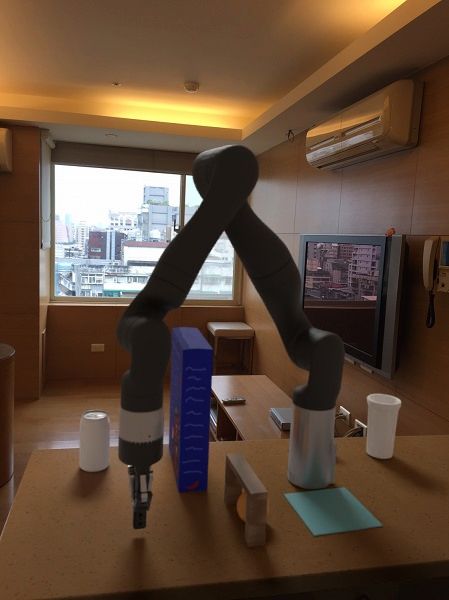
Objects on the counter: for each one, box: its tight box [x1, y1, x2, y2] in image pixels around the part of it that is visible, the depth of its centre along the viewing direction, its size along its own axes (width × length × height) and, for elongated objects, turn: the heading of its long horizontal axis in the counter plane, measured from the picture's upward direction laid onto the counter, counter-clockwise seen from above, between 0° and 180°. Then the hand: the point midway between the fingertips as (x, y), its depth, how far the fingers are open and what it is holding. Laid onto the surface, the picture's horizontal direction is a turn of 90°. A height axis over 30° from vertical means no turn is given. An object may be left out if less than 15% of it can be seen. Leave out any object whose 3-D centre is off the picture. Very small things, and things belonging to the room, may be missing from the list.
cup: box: [365, 393, 402, 460], centre depth 120 cm, size 8×8×14 cm
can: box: [78, 409, 111, 473], centre depth 108 cm, size 6×6×12 cm
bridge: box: [223, 452, 269, 548], centre depth 89 cm, size 3×15×10 cm, turn 16°
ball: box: [236, 491, 270, 523], centre depth 89 cm, size 6×6×6 cm
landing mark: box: [283, 486, 384, 537], centre depth 95 cm, size 14×14×1 cm
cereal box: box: [168, 326, 214, 493], centre depth 108 cm, size 22×6×30 cm, turn 12°
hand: (139, 526), depth 84 cm, fingers closed
